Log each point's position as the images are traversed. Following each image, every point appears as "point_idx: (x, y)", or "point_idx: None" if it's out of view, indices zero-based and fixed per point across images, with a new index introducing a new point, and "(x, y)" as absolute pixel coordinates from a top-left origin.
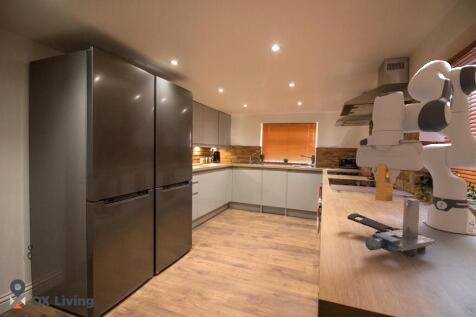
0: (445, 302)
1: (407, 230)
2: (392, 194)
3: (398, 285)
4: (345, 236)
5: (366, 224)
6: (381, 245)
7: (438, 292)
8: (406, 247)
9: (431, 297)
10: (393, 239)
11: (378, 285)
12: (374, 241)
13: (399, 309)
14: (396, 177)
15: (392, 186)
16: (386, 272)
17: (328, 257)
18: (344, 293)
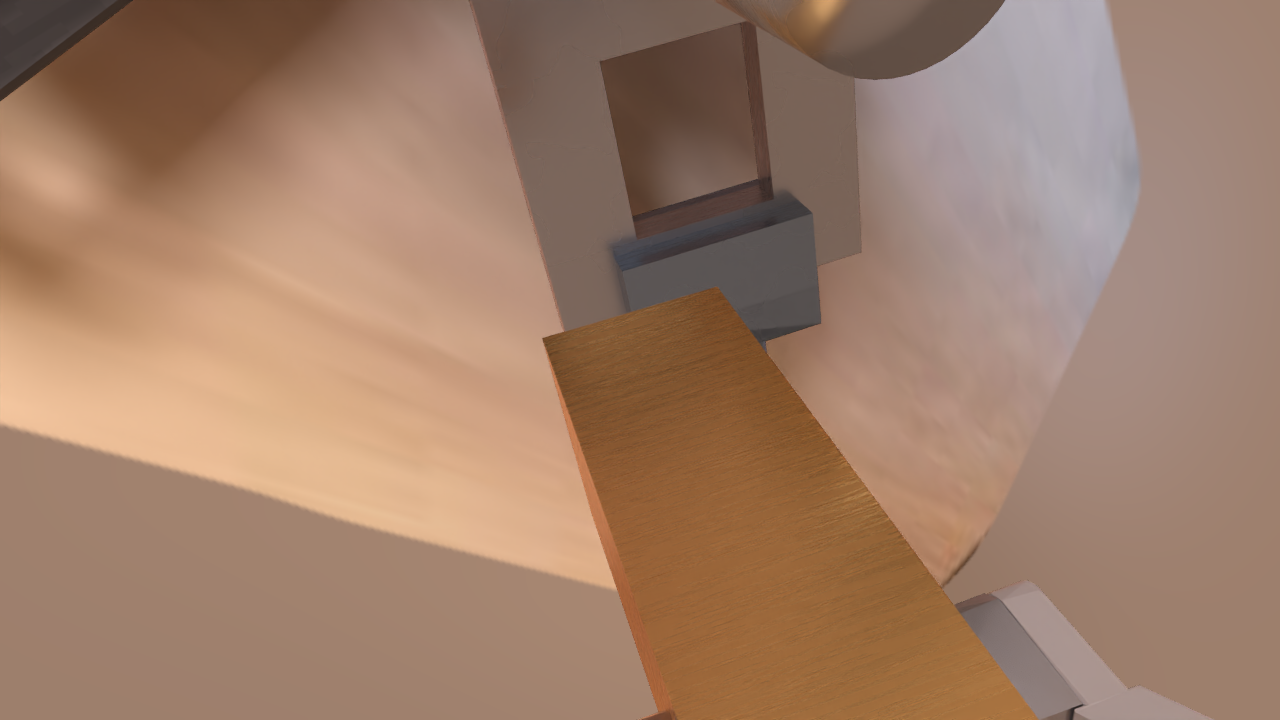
0: (1070, 240)
1: None
2: (768, 356)
3: (913, 353)
4: (97, 251)
5: (54, 55)
6: None
7: (1022, 197)
8: (854, 196)
9: (1026, 272)
10: (790, 274)
11: (881, 443)
12: None
13: (1011, 458)
14: (1149, 690)
15: (852, 481)
16: None
17: (581, 557)
18: None
